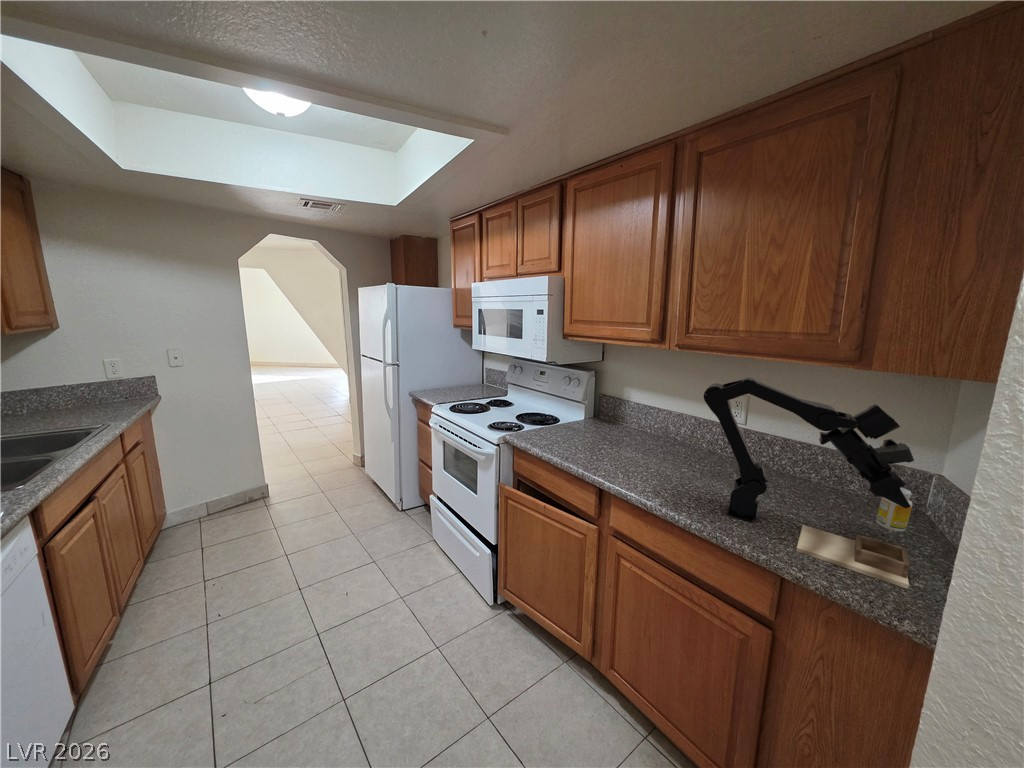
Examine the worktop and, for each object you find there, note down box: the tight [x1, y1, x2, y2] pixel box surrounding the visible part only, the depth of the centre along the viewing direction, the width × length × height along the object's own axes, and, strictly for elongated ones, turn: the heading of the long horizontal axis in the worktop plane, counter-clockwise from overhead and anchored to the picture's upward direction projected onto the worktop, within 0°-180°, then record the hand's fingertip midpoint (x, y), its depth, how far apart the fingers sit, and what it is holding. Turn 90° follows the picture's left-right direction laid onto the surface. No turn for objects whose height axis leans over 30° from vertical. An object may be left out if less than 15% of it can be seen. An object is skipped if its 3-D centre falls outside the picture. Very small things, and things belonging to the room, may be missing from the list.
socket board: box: [795, 524, 910, 590], centre depth 94 cm, size 20×14×4 cm
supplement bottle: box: [875, 487, 913, 532], centre depth 95 cm, size 5×5×10 cm
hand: (904, 502), depth 94 cm, fingers closed on supplement bottle, 5 cm apart
